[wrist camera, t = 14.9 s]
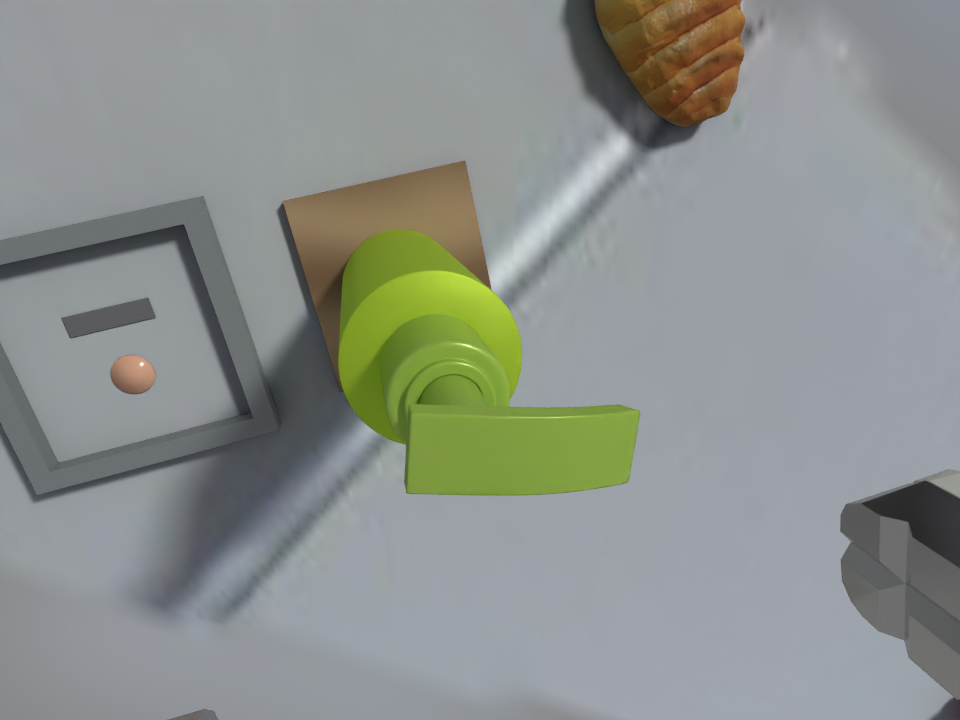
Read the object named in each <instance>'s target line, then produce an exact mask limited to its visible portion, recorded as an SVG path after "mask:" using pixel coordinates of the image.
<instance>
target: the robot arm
mask: <svg viewBox="0 0 960 720" xmlns="http://www.w3.org/2000/svg"><path fill="white" fill-rule="evenodd" d="M840 531H841V532H842V533H843V534H844V535H845V536H846V537H847V538H848V539H849V540H850V541H851V543H850V544H849V546H848V548H847V550H846V551H845V553H844V555H843V557H842V558H841V572H842V582H843V584H844V586H845V589H846V591H847V593H848V596H849V598H850V600H851V602H852V603H853V605H854V606H855V607H856V609H857V610H858V611H859V613H860V614H861V615H862V616H863V617H864V618H865V619H866V620H867V621H868V622H869V623H870V624H871V625H872V626H873V627H875V628H876V629H877V630H878V631H880V632H882V633H885V634H888V635H891V636H894V637H896V638H899V639H902V640H904V641H905V645H906V650H907V654H908V658H910V659H911V660H912V661H913V662H914V663H915V664H917V665H918V666H919V667H920V668H921V669H922V670H923V671H925V672H926V673H927V674H928V675H929V676H930V677H931V678H933V679H934V680H935V681H936V682H937V683H938V684H939V685H941V686H942V687H943V688H944V689H945V690H946V691H947V692H949V693H950V694H951V695H952V696H953V697H954V698H956V699H957V700H959V699H960V471H957V470H951V469H948V470H945V471H942V472H939V473H936V474H933V475H930V476H928V477H925V478H922V479H919V480H916V481H914V482H913V483H909V484H906V485H903V486H900V487H897V488H894V489H891V490H888V491H884V492H881V493H878V494H875V495H872V496H869V497H866V498H863V499H860V500H857V501H854V502H851V503H848V504H846V505H845V507H844V509H843V511H842V513H841V526H840ZM169 720H218V718H217V716H216V714H215V712H214V711H212V710H207V709H203V710H200V711H196V712H193V713H189V714H186V715H183V716H179V717H176V718H172V719H169Z"/></svg>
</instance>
